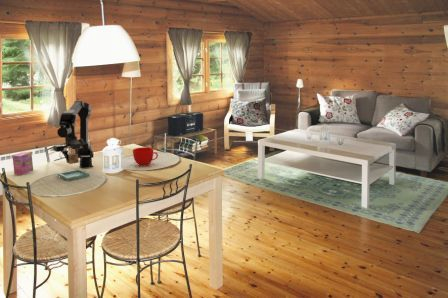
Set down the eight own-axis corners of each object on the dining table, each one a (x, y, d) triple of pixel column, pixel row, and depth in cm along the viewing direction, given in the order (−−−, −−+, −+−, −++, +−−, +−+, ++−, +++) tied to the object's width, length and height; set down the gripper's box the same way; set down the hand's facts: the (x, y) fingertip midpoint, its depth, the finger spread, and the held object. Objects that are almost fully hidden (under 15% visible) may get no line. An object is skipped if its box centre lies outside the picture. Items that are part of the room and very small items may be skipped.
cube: (74, 160, 248) (74, 152, 247) (78, 162, 245) (77, 154, 244) (66, 162, 245) (65, 154, 244) (70, 164, 241) (69, 155, 240)
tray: (79, 172, 256) (79, 169, 255) (89, 176, 246) (89, 173, 246) (58, 176, 247) (57, 173, 247) (67, 181, 238) (67, 177, 237)
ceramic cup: (152, 168, 262) (152, 152, 260) (129, 166, 268) (128, 150, 266) (163, 163, 274) (162, 148, 272) (140, 161, 280) (139, 146, 278)
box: (22, 175, 250) (20, 155, 247) (14, 174, 251) (11, 155, 248) (33, 170, 260) (31, 151, 257) (25, 170, 261) (23, 151, 258)
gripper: (59, 138, 229) (62, 166, 233) (91, 133, 242) (94, 160, 245) (51, 135, 237) (54, 162, 241) (83, 131, 250) (85, 157, 253)
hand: (72, 160), depth 245 cm, fingers closed on cube, 5 cm apart
